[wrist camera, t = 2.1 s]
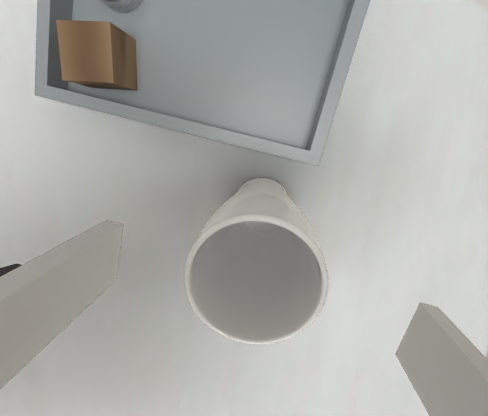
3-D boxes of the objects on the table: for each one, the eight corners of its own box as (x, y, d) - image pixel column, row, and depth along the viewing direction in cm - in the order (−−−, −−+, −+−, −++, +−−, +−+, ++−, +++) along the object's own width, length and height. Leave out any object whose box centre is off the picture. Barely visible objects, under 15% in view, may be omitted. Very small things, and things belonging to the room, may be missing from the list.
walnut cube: (93, 88, 25) (62, 80, 21) (90, 37, 24) (56, 19, 20) (137, 90, 25) (113, 82, 21) (135, 39, 24) (110, 21, 20)
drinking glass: (261, 153, 26) (251, 180, 11) (312, 203, 27) (364, 286, 12) (213, 204, 28) (152, 283, 13) (262, 250, 28) (256, 371, 14)
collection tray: (61, 99, 26) (34, 95, 23) (71, -84, 22) (40, -117, 19) (312, 162, 26) (318, 165, 23) (366, -14, 22) (381, -37, 19)
